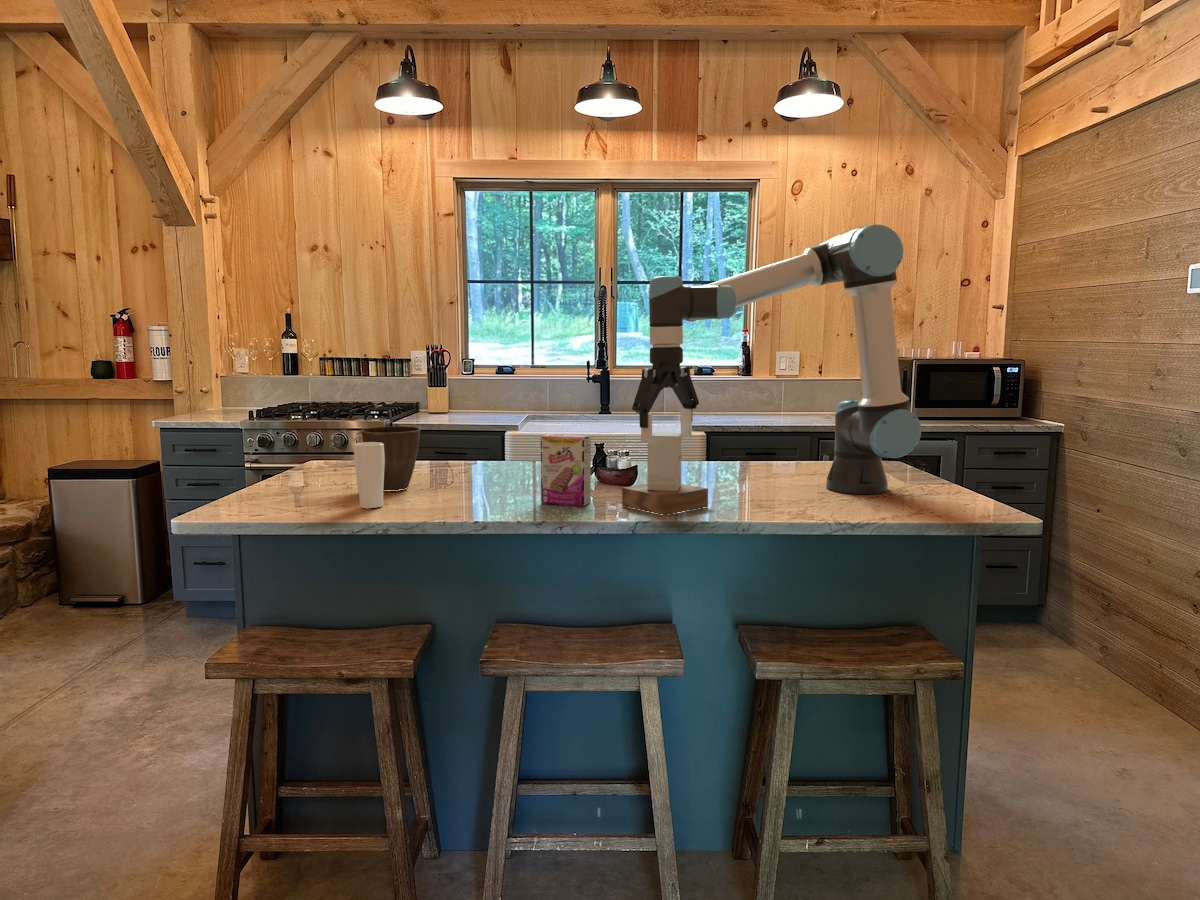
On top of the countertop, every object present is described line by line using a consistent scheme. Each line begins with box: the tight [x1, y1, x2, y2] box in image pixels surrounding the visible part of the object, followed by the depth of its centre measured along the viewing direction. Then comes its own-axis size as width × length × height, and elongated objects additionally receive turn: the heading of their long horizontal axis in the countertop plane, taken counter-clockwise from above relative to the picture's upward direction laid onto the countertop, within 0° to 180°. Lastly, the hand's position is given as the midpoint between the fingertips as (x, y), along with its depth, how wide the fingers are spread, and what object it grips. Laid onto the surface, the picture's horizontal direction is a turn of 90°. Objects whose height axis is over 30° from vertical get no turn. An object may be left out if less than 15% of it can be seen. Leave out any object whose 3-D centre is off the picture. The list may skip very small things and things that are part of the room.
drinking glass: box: [353, 442, 385, 510], centre depth 182 cm, size 7×7×15 cm
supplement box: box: [646, 432, 683, 491], centre depth 180 cm, size 7×7×13 cm
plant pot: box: [360, 425, 421, 490], centre depth 204 cm, size 15×15×16 cm
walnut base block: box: [621, 483, 709, 515], centre depth 182 cm, size 14×14×5 cm
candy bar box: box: [540, 433, 592, 508], centre depth 185 cm, size 11×5×16 cm, turn 71°
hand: (666, 439), depth 180 cm, fingers open, 13 cm apart
